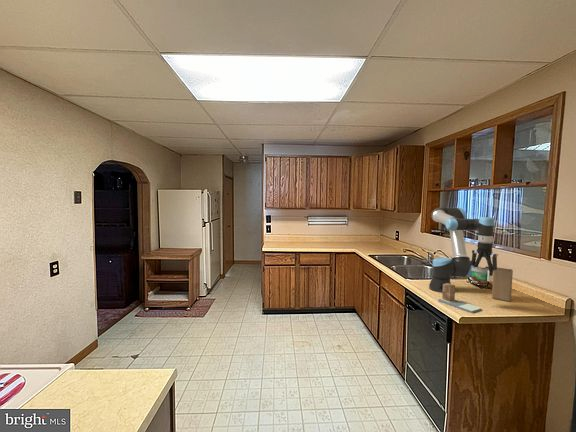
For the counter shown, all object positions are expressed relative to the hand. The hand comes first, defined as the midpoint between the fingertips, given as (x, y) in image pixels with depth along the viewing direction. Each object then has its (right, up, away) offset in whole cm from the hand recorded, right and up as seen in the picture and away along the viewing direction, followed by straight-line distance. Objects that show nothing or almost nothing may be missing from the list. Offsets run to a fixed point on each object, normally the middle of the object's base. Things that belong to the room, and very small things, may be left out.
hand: (482, 278), depth 173 cm
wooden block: (+23, -17, +15) cm, 32 cm away
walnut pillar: (-18, -15, +7) cm, 24 cm away
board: (-14, -17, +1) cm, 22 cm away
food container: (0, -3, 0) cm, 3 cm away
